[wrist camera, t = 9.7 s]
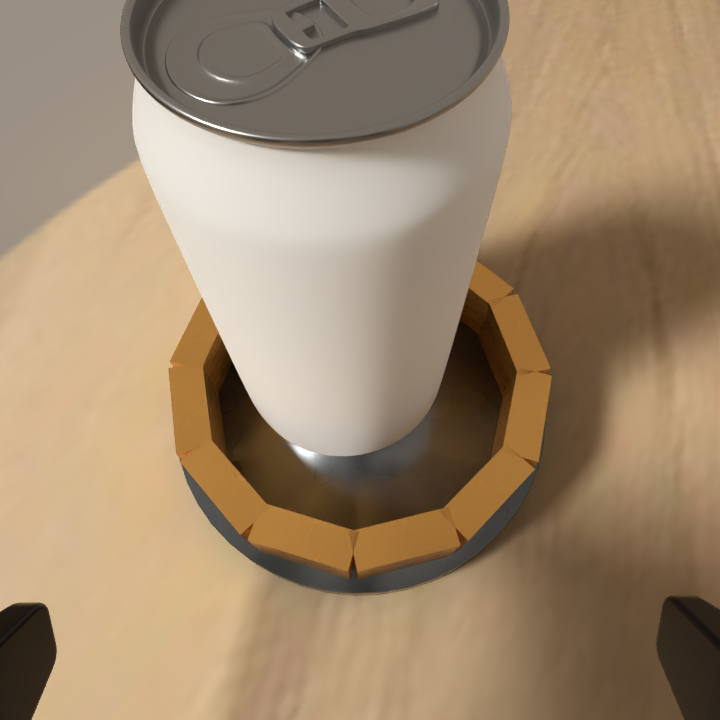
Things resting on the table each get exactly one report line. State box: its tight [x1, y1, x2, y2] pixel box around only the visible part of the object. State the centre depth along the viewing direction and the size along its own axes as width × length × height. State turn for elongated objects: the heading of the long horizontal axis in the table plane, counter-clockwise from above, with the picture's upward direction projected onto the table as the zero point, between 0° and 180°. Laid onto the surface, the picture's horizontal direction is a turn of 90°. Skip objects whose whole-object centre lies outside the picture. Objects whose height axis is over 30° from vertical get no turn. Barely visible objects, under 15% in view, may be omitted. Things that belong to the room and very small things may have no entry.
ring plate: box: [168, 260, 552, 596], centre depth 18 cm, size 12×12×3 cm
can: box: [120, 0, 512, 456], centre depth 13 cm, size 6×6×12 cm
